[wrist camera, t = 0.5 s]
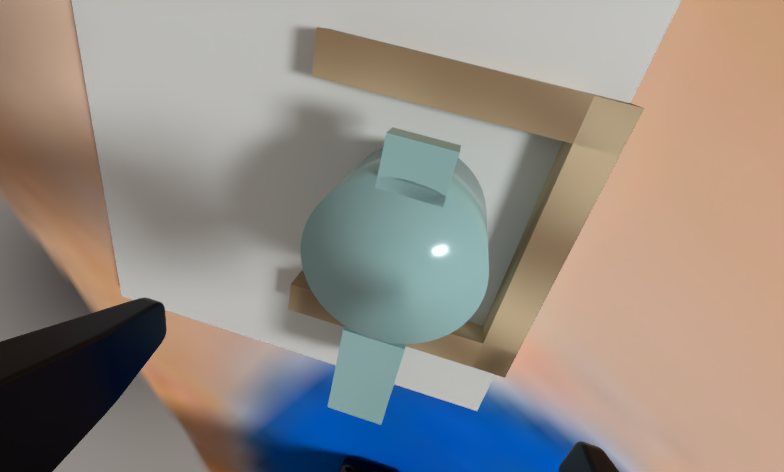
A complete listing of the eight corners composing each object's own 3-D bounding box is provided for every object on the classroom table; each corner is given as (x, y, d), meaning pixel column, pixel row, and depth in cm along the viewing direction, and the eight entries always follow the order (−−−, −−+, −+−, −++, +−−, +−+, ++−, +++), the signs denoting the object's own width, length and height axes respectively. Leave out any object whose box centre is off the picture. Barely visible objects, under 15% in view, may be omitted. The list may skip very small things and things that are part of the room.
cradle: (503, 358, 18) (504, 377, 17) (298, 294, 19) (288, 309, 18) (629, 103, 12) (644, 108, 11) (329, 28, 13) (316, 27, 12)
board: (476, 398, 21) (476, 411, 20) (132, 288, 22) (121, 296, 22) (689, -38, 11) (703, -44, 11) (63, -173, 13) (39, -185, 12)
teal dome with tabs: (360, 95, 14) (314, 113, 10) (519, 136, 14) (535, 172, 10) (322, 332, 20) (283, 403, 16) (432, 367, 19) (420, 449, 15)
